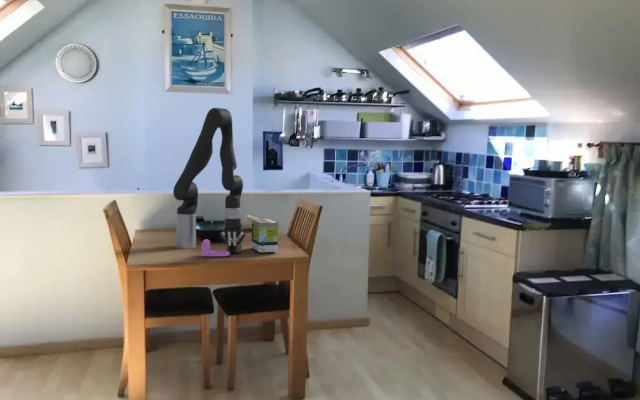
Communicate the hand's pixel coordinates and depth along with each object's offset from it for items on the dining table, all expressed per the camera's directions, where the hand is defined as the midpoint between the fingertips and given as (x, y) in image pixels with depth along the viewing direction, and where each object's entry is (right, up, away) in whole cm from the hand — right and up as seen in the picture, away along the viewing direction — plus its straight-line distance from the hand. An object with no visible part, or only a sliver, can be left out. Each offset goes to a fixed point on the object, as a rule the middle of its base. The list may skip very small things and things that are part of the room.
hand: (232, 252), depth 259 cm
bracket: (-7, -1, -4) cm, 9 cm away
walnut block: (+1, +3, +6) cm, 7 cm away
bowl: (+4, +6, +67) cm, 67 cm away
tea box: (+14, 0, +11) cm, 18 cm away
